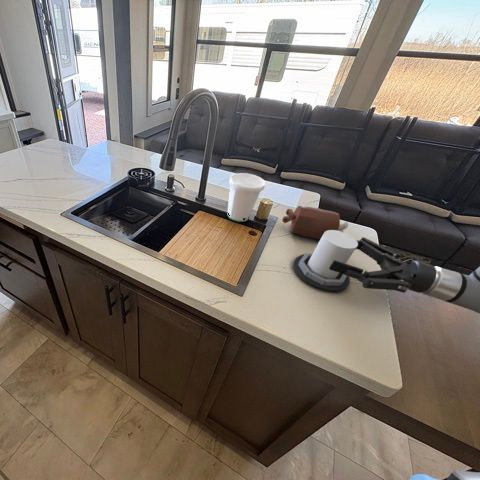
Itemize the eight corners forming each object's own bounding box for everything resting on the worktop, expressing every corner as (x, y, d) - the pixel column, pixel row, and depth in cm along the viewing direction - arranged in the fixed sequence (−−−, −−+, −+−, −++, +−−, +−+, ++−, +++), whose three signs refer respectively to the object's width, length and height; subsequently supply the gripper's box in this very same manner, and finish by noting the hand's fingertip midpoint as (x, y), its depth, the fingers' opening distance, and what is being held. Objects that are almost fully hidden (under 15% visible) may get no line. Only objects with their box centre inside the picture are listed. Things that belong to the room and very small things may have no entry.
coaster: (359, 293, 71) (364, 286, 69) (306, 292, 70) (310, 285, 69) (330, 257, 83) (334, 250, 81) (285, 256, 82) (288, 249, 80)
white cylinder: (342, 281, 73) (364, 249, 65) (314, 280, 72) (333, 247, 65) (327, 261, 79) (346, 230, 72) (301, 260, 79) (318, 229, 71)
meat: (335, 232, 94) (349, 208, 88) (341, 250, 86) (357, 226, 79) (278, 220, 99) (288, 196, 93) (278, 236, 91) (289, 212, 84)
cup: (216, 217, 99) (224, 181, 89) (229, 204, 107) (237, 170, 98) (247, 228, 93) (259, 191, 84) (258, 214, 102) (269, 179, 92)
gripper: (429, 326, 57) (324, 288, 64) (407, 261, 74) (327, 238, 82) (454, 305, 52) (338, 267, 60) (425, 241, 70) (338, 218, 77)
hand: (331, 250), depth 71 cm, fingers open, 13 cm apart
